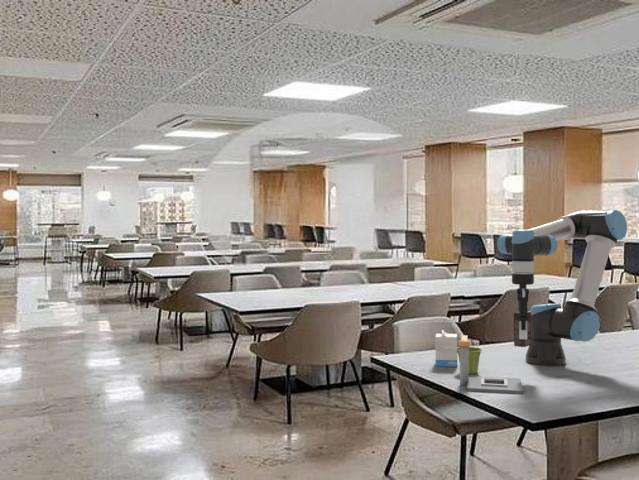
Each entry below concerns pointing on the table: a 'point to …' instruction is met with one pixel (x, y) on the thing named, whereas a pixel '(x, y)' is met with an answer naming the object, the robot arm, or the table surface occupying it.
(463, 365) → the grey stand
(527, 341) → the box
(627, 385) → the table surface
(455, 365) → the milk carton
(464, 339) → the clip
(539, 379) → the table surface
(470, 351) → the plant pot
